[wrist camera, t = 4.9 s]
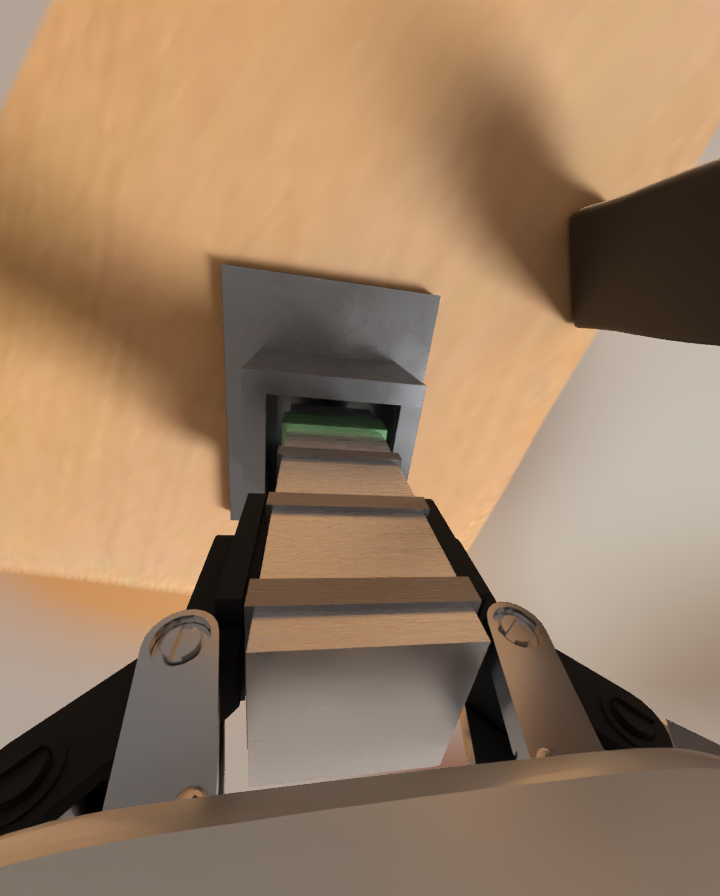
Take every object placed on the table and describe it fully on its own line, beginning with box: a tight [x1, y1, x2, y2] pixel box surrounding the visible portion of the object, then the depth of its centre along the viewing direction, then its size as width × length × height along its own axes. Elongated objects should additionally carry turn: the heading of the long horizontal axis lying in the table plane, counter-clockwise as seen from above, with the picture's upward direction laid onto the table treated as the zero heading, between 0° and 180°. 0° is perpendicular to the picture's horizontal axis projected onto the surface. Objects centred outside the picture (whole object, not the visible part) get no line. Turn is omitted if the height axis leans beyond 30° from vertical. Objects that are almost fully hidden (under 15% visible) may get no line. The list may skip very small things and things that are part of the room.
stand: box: [221, 264, 440, 520], centre depth 18 cm, size 16×12×9 cm
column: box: [244, 403, 491, 787], centre depth 12 cm, size 4×4×13 cm
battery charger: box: [570, 158, 720, 346], centre depth 15 cm, size 7×4×11 cm, turn 19°
